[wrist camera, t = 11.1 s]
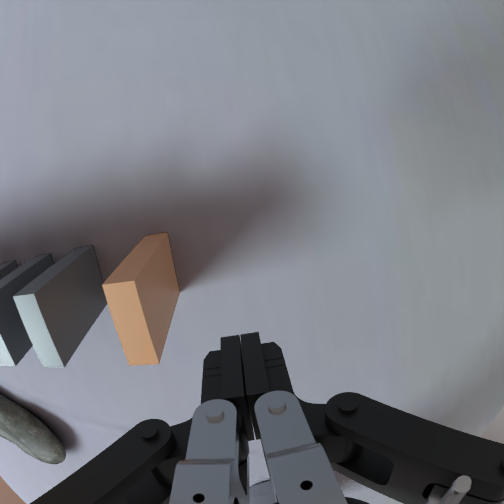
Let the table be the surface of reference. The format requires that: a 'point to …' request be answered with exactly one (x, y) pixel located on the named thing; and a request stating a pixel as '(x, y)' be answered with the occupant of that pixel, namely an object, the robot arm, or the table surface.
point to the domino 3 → (143, 299)
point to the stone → (29, 433)
